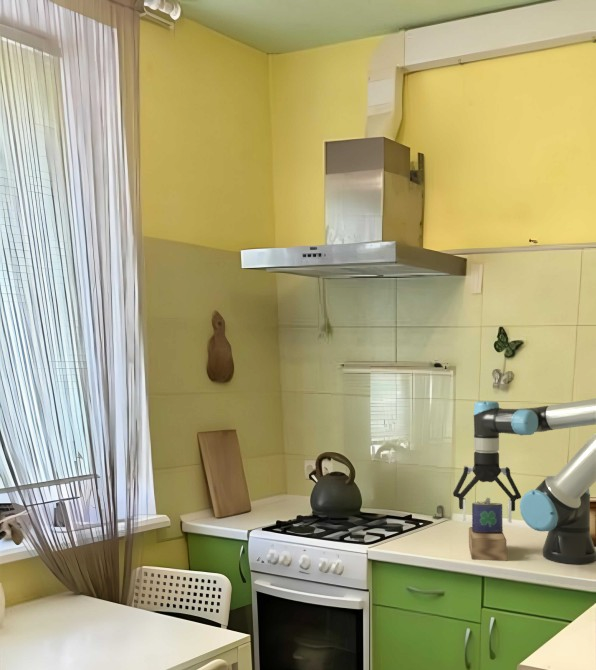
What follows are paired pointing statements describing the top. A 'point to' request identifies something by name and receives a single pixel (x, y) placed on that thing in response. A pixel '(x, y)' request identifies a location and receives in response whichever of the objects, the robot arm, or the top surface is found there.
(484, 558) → the walnut block
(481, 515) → the flask
